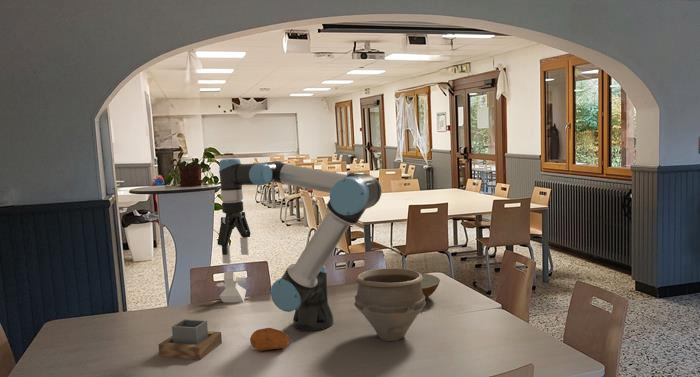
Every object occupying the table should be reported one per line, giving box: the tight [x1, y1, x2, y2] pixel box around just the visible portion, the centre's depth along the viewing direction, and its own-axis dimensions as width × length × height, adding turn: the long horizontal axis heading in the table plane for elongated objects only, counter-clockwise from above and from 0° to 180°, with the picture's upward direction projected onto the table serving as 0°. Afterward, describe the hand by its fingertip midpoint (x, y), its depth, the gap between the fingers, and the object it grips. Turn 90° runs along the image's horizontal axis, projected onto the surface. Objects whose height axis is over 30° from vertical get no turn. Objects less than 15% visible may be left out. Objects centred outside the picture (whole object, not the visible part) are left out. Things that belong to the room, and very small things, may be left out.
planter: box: [353, 267, 427, 342], centre depth 178 cm, size 25×24×22 cm
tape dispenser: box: [215, 271, 247, 303], centre depth 228 cm, size 8×14×14 cm, turn 84°
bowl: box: [419, 272, 441, 300], centre depth 219 cm, size 25×25×8 cm
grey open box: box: [171, 318, 209, 345], centre depth 175 cm, size 9×7×8 cm
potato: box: [249, 327, 290, 352], centre depth 172 cm, size 7×13×7 cm, turn 86°
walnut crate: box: [157, 330, 223, 360], centre depth 175 cm, size 15×14×4 cm
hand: (236, 258), depth 189 cm, fingers open, 13 cm apart
